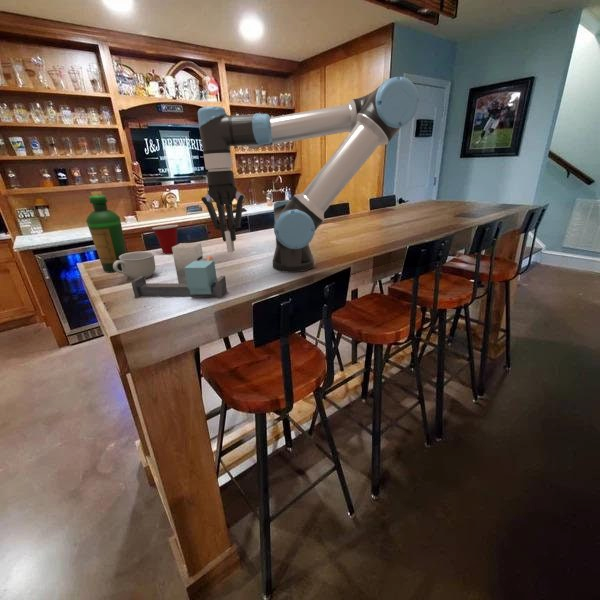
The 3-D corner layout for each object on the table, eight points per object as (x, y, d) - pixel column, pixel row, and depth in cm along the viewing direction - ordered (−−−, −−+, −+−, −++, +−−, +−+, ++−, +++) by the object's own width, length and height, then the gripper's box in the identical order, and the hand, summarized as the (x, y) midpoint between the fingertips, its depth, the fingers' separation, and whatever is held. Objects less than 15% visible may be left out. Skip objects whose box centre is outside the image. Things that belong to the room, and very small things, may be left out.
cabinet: (206, 278, 107) (201, 242, 103) (199, 284, 102) (193, 247, 97) (186, 278, 108) (180, 243, 103) (178, 284, 103) (171, 247, 98)
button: (214, 268, 105) (212, 254, 103) (209, 272, 101) (207, 258, 99) (197, 268, 105) (195, 255, 104) (192, 272, 101) (189, 258, 100)
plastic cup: (178, 248, 150) (173, 222, 145) (186, 252, 142) (181, 225, 137) (154, 252, 144) (148, 226, 139) (161, 257, 136) (155, 228, 131)
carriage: (217, 286, 96) (214, 260, 92) (209, 295, 89) (205, 267, 86) (198, 286, 96) (194, 260, 93) (189, 295, 90) (184, 267, 87)
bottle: (98, 269, 121) (75, 192, 111) (128, 263, 128) (110, 190, 117) (104, 275, 114) (80, 193, 103) (135, 269, 120) (116, 191, 109)
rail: (227, 291, 95) (225, 275, 93) (221, 298, 90) (219, 281, 88) (144, 291, 97) (140, 276, 95) (135, 297, 93) (131, 281, 91)
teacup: (149, 270, 118) (144, 249, 115) (164, 275, 112) (159, 253, 109) (109, 280, 109) (103, 257, 106) (123, 286, 102) (117, 262, 99)
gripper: (245, 168, 94) (254, 247, 103) (202, 171, 95) (215, 249, 104) (238, 169, 87) (248, 253, 96) (192, 172, 88) (206, 255, 97)
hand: (231, 251), depth 100 cm, fingers closed
